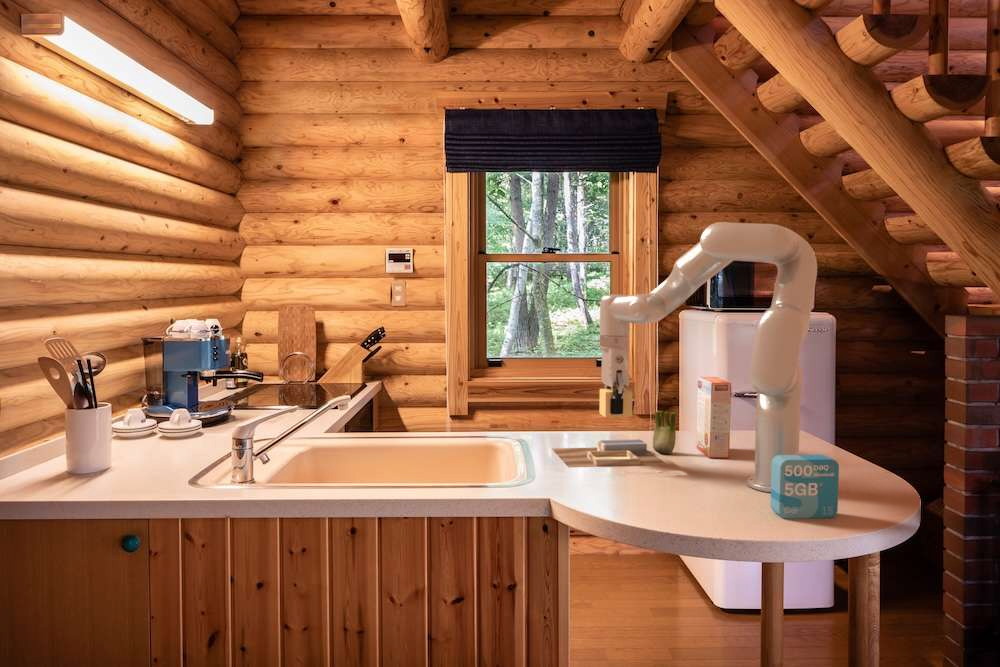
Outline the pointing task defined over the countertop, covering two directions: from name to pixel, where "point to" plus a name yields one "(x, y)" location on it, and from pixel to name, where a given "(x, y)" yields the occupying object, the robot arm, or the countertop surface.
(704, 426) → the cracker box
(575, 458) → the board
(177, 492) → the countertop surface
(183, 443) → the countertop surface
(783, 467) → the data package
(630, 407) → the block
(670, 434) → the fennel bulb
